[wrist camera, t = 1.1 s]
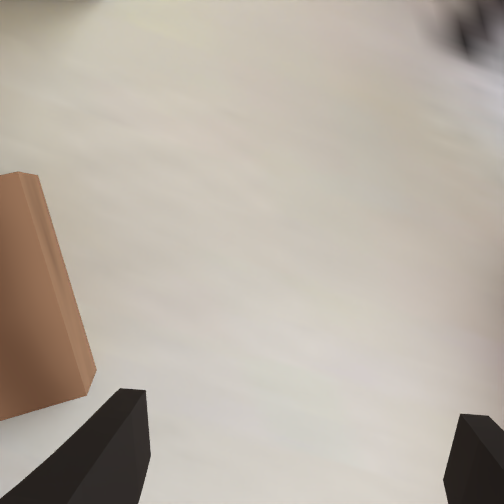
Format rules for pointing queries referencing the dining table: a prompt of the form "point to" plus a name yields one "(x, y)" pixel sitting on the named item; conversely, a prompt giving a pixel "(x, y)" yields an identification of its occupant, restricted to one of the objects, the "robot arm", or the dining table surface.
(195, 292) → the dining table surface
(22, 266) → the slab
